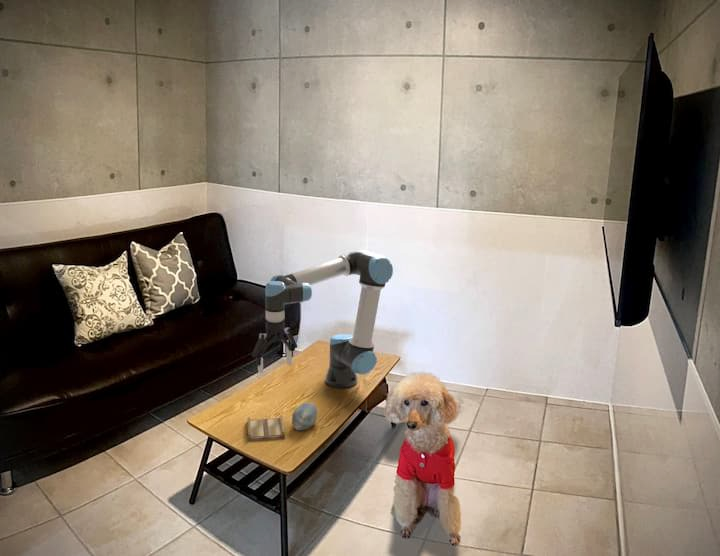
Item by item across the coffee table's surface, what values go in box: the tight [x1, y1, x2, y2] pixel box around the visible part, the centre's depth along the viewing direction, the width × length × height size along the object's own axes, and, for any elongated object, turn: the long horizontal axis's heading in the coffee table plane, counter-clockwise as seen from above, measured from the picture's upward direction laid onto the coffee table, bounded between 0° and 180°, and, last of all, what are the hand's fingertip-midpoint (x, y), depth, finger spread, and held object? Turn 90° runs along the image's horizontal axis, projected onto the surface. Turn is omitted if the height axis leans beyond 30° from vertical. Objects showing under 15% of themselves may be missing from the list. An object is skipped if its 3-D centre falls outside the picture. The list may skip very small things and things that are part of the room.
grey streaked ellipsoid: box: [291, 402, 318, 431], centre depth 249 cm, size 14×10×10 cm
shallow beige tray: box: [246, 414, 286, 442], centre depth 244 cm, size 14×15×2 cm
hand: (275, 368), depth 252 cm, fingers open, 13 cm apart
